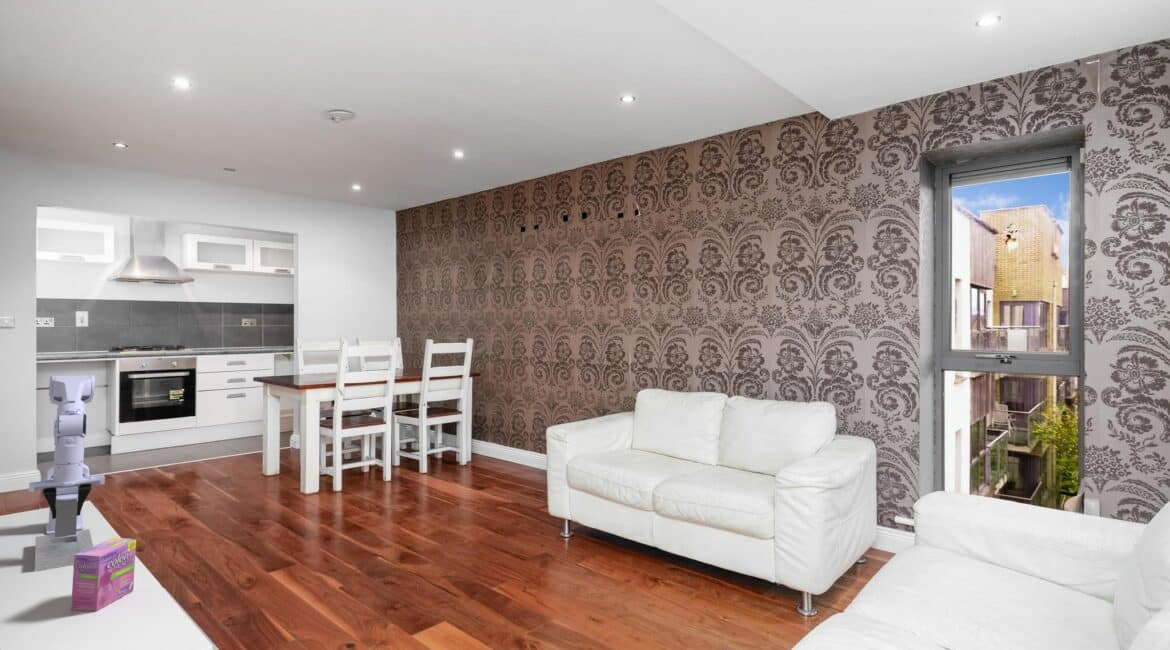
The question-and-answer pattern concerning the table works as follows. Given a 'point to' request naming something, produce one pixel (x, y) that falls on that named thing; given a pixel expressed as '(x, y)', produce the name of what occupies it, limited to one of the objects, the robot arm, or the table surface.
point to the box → (103, 574)
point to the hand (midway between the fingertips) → (66, 516)
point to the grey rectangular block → (66, 518)
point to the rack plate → (60, 549)
